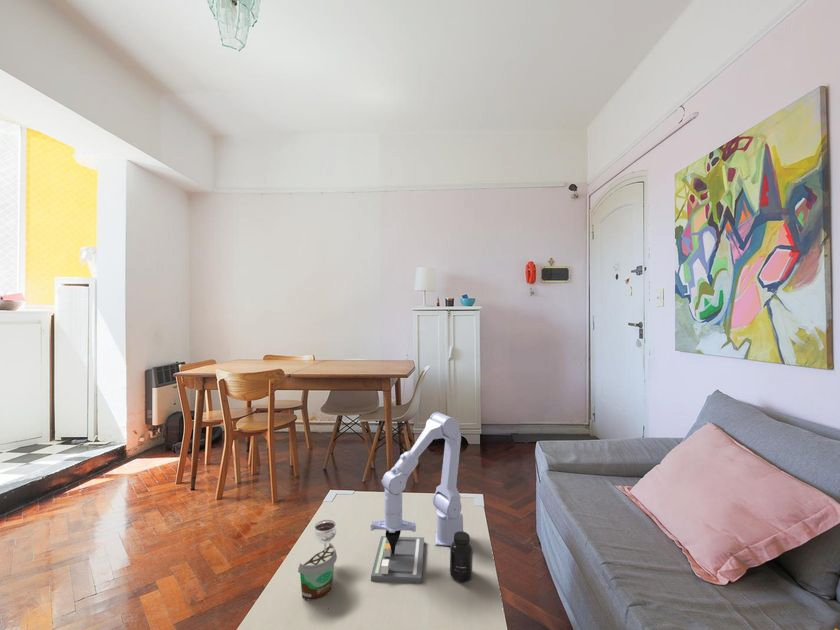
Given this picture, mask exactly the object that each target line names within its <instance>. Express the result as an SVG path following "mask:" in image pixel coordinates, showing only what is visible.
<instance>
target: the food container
mask: <svg viewBox="0 0 840 630" xmlns="http://www.w3.org/2000/svg"><path fill="white" fill-rule="evenodd" d="M337 555H338V554H337V551H336V548H335V546H334V545H333V544H332V543H331V542H328V546H326V549H325V550H324V549H323V550H322V551H319V552H318V553H316V554H314V555H313V556H312V557H311V558H310V559H309V560H307V561H306V562H305V563H303V564H302V563H299V566H298V570H297V573H299V576H300V577H299V579H300V585H301V586H300V588H301V598H303V599H304V598H305V600H308V599H309V601H313V600H314V601H315V600H318V599H322V598H323V597H325V596H327V595H328V594H329V593H330V592H331V591H332V589H333V580H334V578H333V577H334V569H335V567H334V566H335V563H336V562H337V559H338V556H337Z"/></svg>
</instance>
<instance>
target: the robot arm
mask: <svg viewBox="0 0 840 630" xmlns="http://www.w3.org/2000/svg"><path fill="white" fill-rule="evenodd" d="M460 425H461V424H460V423H459V421H458V420H457V419H456V418H454V417H452V416H448V415H446V414H444V413H442V412H439V411H435V412H434V413H432V414H431V415H430V417H429V419H427V420H426V423H425V427H424V429H423V430H422V431H421V434H420V435H419V436H418V438H417V439H416V441H415V443H414V444H413V446H412V447H411V449H410V450H407V451H405V452H403V453H401V455H400V456H399V459H398V460H397V462H396V463H395V464H394V466H393V467H391V469H390V470H387V472H385V473H384V475H383V476H382V479H381V482H380V483H381V485H382V486H383V488H384V519H382V520H375V521H374V520H372V521H371V522H370V531H375V530H383V531H385V536H386V538H387V539H388V541H389V544H390V547H391V551H392V554H394V553H395V546H396V543H397V541H398V539H399V537H401V533H402V531H410V532H411V531H412V533H414V532H415V533H416V531H417V522H415V521H414V522H413V521H408V520H404V519H403V491H404V490H405V489H406V486H407V481H408V478H409V476H411V473H413V472H414V470H415V468H416V467H417V466H418V464H419V457H420V456H421V454H422V453H424V451H425V450H426V449H427V448H428V446H430V444H431V443H432V442H433V440H438V439H444V440H445V441H444V450H443V458H442V459H443V461H442V467H441V468H442V470H441V479H440V484H439V485H438V486H436V489H435V492H434V494H433V496H432V497H433V498H432V504H433V506H434V507H435V511H436V531H435V539H434V540H435V545H436V546H450V547H451V544H452V542H454V534H455V533H456V532H459V531H462V532H465V531H464V516H463V513H462V507H463V505H462V503H461V497H462V496H461V494H460V491H459V490H458V488H457V482H458V472H459V463H460V453H461V442H462V434H461V431H460Z"/></svg>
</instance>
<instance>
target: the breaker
mask: <svg viewBox="0 0 840 630" xmlns="http://www.w3.org/2000/svg"><path fill="white" fill-rule="evenodd" d="M388 571H389V559H383V560H382V565H381V574H388Z"/></svg>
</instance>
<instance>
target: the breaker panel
mask: <svg viewBox="0 0 840 630" xmlns="http://www.w3.org/2000/svg"><path fill="white" fill-rule="evenodd" d="M386 543H389V542H388V539H387V538H386V535H381V536H380V540H379V543H378V548H377V551H376V555H375V559H374V563H373V566H372V569H371V574H370V581H371V582H391V583H392V582H393V583H416V584H417V583H418V584H419V583H420V584H421V583H422V578H423V564H424V562H423V561H424V546H425V537H418V536H417V537H416V536H413V537H412V536H399V539H398V541H397V543H396V546H395V553H394V554H392V551H391V556H390V557H384V548H385V544H386ZM383 559H389V571H388V574H381V565H382V560H383Z"/></svg>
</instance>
